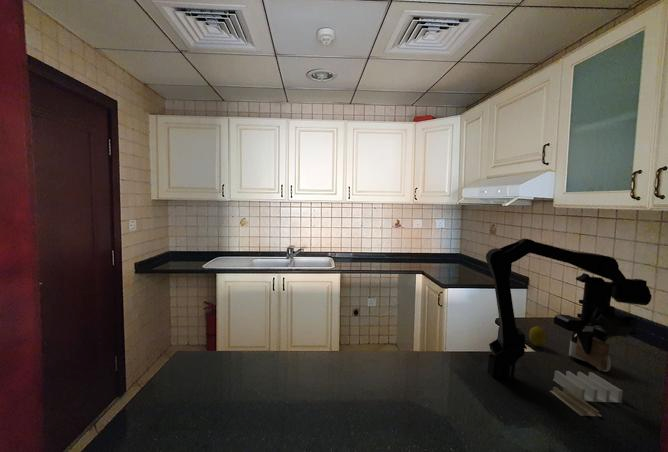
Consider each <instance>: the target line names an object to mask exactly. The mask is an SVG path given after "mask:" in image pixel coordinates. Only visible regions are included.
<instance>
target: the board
mask: <svg viewBox="0 0 668 452" xmlns="http://www.w3.org/2000/svg"><path fill="white" fill-rule="evenodd" d="M609 349H610V344H609V343H606V341H605V342H603V341H601V340H599V339H597V338H595V337H593V339H592V345H591V351H590V354H589V355H588V354H586V353H585V352H584V349H583V347H582V345H581V342H580V340H579V338H577V347H576V356H578V357H580V358H581V359H583V360H585V361H587V362H588V363H590V364H592V365H591V366H594V367H595V368H596V367H597V368H598V369H600V370H606V369H607V361H608V355H609V351H610V350H609ZM597 368H596V369H597ZM598 369H597V370H598ZM600 370H599V371H600Z"/></svg>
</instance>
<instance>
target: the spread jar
mask: <svg viewBox="0 0 668 452" xmlns="http://www.w3.org/2000/svg"><path fill="white" fill-rule="evenodd" d="M577 338H578V336H577V334H576V332H574V331H571V335H570V342H569V350H568V357H569V359H571V360H572V361H574V362H576V363H578V364H582V365H585V366H586V365H587V366H593V365H592V364H590V363H588V362H587V361H585V360H583V359H581V358H580V357H578V356H576V347H577ZM611 367H612V362H611V357H610V355H609V354H608V361H607V369H606V370H600V369H598V368H597V367H595V368H596V369H597V370H598V371H600V372H606V373H607V372H609V371H610V369H611Z"/></svg>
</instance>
